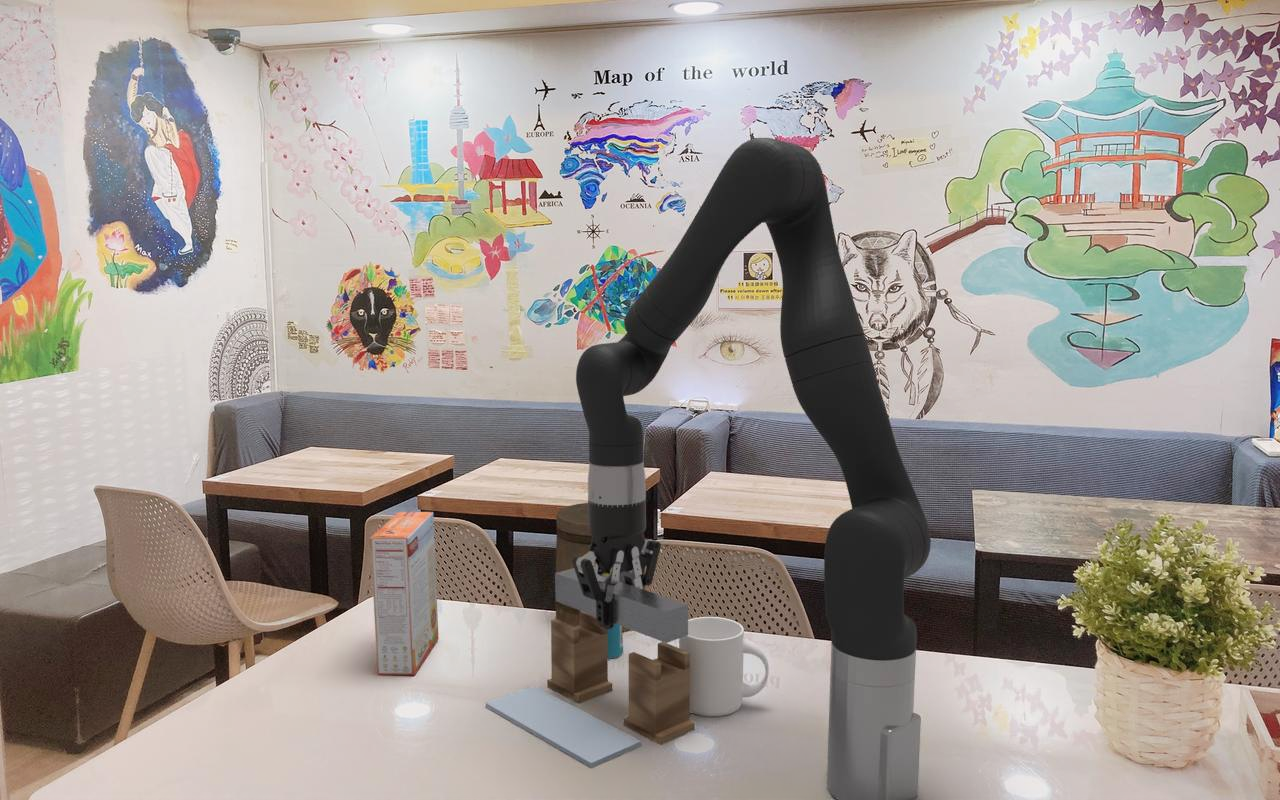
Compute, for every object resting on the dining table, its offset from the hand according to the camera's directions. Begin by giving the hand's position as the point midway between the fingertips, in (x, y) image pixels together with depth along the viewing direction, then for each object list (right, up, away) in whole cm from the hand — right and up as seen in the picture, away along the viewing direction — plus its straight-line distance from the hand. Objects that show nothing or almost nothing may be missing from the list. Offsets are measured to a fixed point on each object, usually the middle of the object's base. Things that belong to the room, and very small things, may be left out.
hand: (618, 622), depth 134 cm
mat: (-8, -13, -3) cm, 15 cm away
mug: (+14, -12, +3) cm, 19 cm away
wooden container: (-4, -7, +35) cm, 36 cm away
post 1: (-6, -11, +8) cm, 14 cm away
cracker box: (-32, -10, +19) cm, 38 cm away
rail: (0, +1, 0) cm, 1 cm away
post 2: (+5, -13, -4) cm, 14 cm away
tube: (-2, -9, +20) cm, 22 cm away
